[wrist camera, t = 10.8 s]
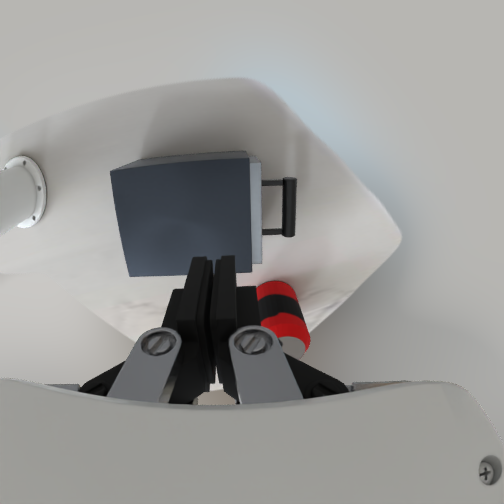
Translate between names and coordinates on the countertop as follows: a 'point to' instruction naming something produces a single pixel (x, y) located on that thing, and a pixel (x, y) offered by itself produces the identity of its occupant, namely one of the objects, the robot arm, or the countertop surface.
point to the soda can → (283, 317)
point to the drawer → (256, 208)
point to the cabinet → (184, 211)
